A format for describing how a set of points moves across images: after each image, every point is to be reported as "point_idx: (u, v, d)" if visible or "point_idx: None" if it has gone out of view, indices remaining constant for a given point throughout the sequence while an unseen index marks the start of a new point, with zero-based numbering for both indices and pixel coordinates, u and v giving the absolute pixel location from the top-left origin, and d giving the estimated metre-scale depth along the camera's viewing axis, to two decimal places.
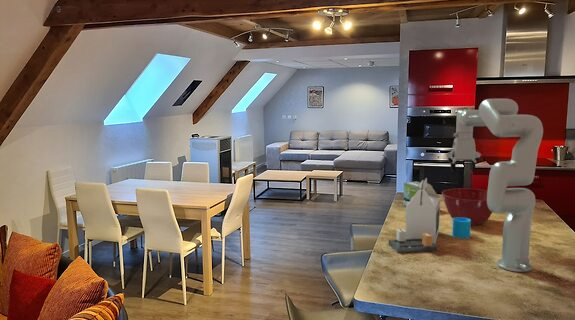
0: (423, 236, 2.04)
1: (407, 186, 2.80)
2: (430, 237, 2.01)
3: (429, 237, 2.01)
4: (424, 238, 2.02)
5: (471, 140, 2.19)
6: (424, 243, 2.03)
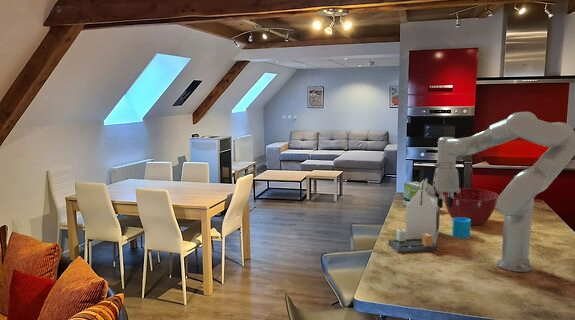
0: (423, 236, 2.04)
1: (407, 186, 2.80)
2: (430, 237, 2.01)
3: (429, 237, 2.01)
4: (424, 238, 2.02)
5: (454, 171, 1.98)
6: (424, 243, 2.03)
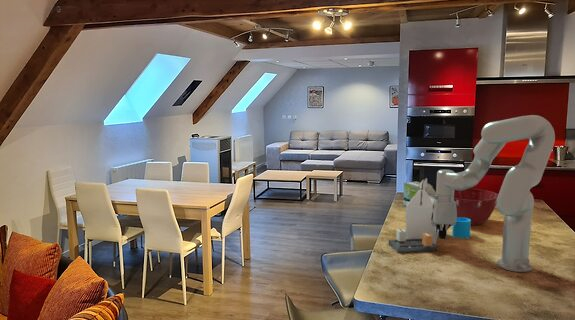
0: (423, 236, 2.04)
1: (407, 186, 2.80)
2: (430, 237, 2.01)
3: (429, 237, 2.01)
4: (424, 238, 2.02)
5: (452, 203, 2.00)
6: (424, 243, 2.03)
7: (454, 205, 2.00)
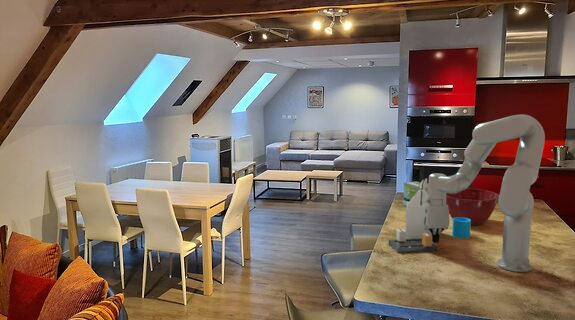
0: (423, 236, 2.04)
1: (408, 186, 2.80)
2: (430, 237, 2.01)
3: (429, 237, 2.01)
4: (424, 238, 2.02)
5: (444, 207, 1.99)
6: (424, 243, 2.03)
7: (446, 209, 2.00)
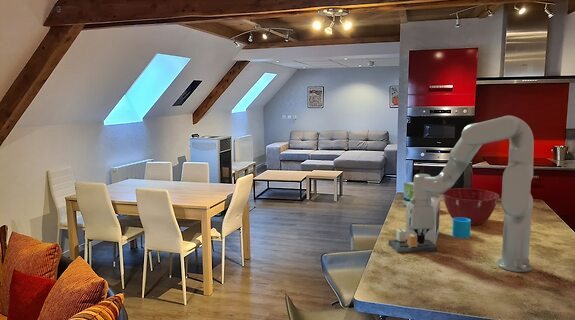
0: (408, 237, 2.03)
1: (407, 186, 2.80)
2: (415, 238, 2.00)
3: (414, 238, 2.00)
4: (409, 239, 2.02)
5: (429, 208, 1.99)
6: (409, 244, 2.02)
7: (431, 209, 1.99)
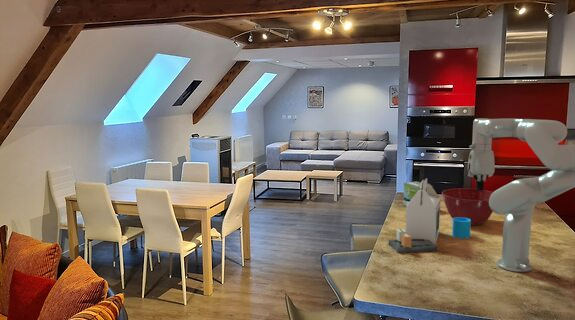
0: (402, 237, 2.02)
1: (407, 186, 2.80)
2: (409, 238, 2.00)
3: (408, 238, 2.00)
4: (403, 239, 2.01)
5: (489, 153, 1.94)
6: (403, 244, 2.02)
7: (492, 154, 1.94)
